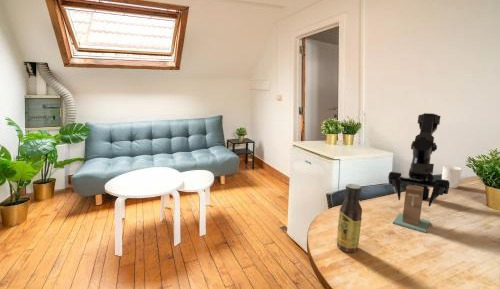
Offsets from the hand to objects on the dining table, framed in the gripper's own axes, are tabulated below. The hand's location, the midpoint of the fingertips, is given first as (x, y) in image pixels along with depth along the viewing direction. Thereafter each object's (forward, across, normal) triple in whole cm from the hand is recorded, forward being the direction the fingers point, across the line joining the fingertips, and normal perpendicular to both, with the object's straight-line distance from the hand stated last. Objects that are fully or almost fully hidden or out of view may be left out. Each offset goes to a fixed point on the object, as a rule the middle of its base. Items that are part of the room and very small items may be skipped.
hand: (413, 202), depth 93 cm
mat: (+5, 0, +7) cm, 8 cm away
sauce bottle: (+27, -14, -15) cm, 34 cm away
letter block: (+4, 0, +7) cm, 8 cm away
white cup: (-38, +11, +50) cm, 64 cm away
